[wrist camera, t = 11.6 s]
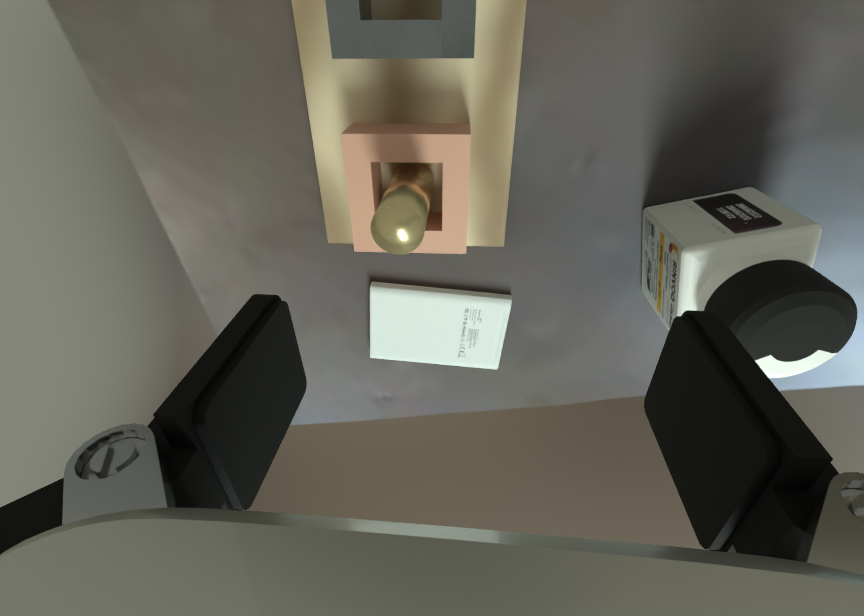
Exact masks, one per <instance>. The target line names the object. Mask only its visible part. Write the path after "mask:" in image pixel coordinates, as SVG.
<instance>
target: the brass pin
mask: <svg viewBox="0 0 864 616" xmlns="http://www.w3.org/2000/svg"><path fill="white" fill-rule="evenodd" d="M433 188H434V177H433V174H432V172H431V170H430V169H429V168H428V167H427V166H426V165H425V164H423V163H403V164H401V165H400V166H399V167H398V168H397V170H396V171H395V173H394V175H393V177H392V179H391V181H390V183H389V185H388V187H387V190H386V192H385V194H384V196H383V198H382V200H381V202H380V204H379V206H378V208H377V210H376V212H375V214H374V216H373V218H372V221H371V234H372V237H373V239H374V241H375V242H376V244H377V245H378V246H379V247H380V248H382V249H383V250H385V251H386V252H389V253H392V254H398V255H400V254H407V253H410V252H412V251H413V250H415V249H416V248H417V247H418V246H419V245H420V244H421V242H422V240H423V237H424V232H425V227H426V222H427V217H428V212H429V207H430V202H431V197H432V193H433Z"/></svg>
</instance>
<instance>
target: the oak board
mask: <svg viewBox="0 0 864 616" xmlns="http://www.w3.org/2000/svg"><path fill="white" fill-rule="evenodd" d="M291 1H292V7H293V14H294V20H295V27H296V33H297V40H298V47H299V53H300V60H301V66H302V73H303V80H304V86H305V93H306V99H307V106H308V112H309V119H310V126H311V132H312V139H313V145H314V152H315V159H316V165H317V172H318V178H319V185H320V191H321V198H322V205H323V211H324V218H325V224H326V231H327V238H328V243H354V242H353V234H352V225H351V217H350V208H349V200H348V191H347V182H346V174H345V165H344V157H343V148H342V140H341V133H342V132H343V131H345V130H346V129H347V128H348V127H349V126H350V125H351V124H353V123H456V124H470V128H471V144H470V169H469V193H468V218H467V242H466V246H503V247H504V238H505V227H506V216H507V206H508V195H509V184H510V173H511V163H512V152H513V141H514V130H515V120H516V109H517V98H518V88H519V77H520V66H521V55H522V45H523V34H524V23H525V12H526V2H527V0H476V22H475V46H474V58H432V59H332V54H331V45H330V37H329V28H328V20H327V11H326V3H325V0H291ZM371 13H372V20H442V0H371ZM380 163H381V177H382V191H383V196H384V194H385V192H386V190H387V187H388V185H389V183H390V181H391V179H392V177H393V175H394V173H395V171H396V170H397V168H398V167H399V166H400V165H401V164H403V163H402V162H380ZM423 164H425V165H426V166H427V167H428V168H429V169H430V170H431V172H432V174H433V177H434V188H433V193H432V197H431V202H430V207H429V212H437V213H442V190H443V163H423Z"/></svg>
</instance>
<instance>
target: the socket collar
mask: <svg viewBox="0 0 864 616" xmlns="http://www.w3.org/2000/svg"><path fill="white" fill-rule="evenodd" d="M341 140H342V148H343V157H344V165H345V174H346V182H347V191H348V200H349V208H350V217H351V225H352V234H353V242H354V251H356V252H386V251H385V250H383V249H382V248H380V247H379V246H378V245H377V244H376V242H375V241H374V239H373V237H372V234H371V221H372V218H373V216H374V214H375V212H376V210H377V208H378V206H379V204H380V202H381V200H382V198H383V191H382V177H381V163H380V162H402V163H443V190H442V213H437V212H428V217H427V222H426V227H425V232H424V237H423V240H422V242H421V244H420V245H419V246H418V247H417V248H416V249H415V250H413V251H412V252H410V253H447V254H466V242H467V218H468V193H469V169H470V144H471V128H470V124H456V123H353V124H351V125H350V126H349V127H348V128H347V129H346V130H345V131H343V132H342V133H341Z"/></svg>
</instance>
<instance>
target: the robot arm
mask: <svg viewBox="0 0 864 616" xmlns="http://www.w3.org/2000/svg"><path fill="white" fill-rule="evenodd" d="M306 385H307V383H306V376H305V372H304V368H303V364H302V360H301V356H300V352H299V348H298V344H297V340H296V336H295V332H294V328H293V323H292V319H291V315H290V311H289V307H288V304H287V303H286V302H285V301H281V298H280V297H279V296H278V295H263V294H255V295H253V296H252V297H251V298H250V299H249V300H248V301H247V302H246V304H245V305H244V306H243V307H242V308H241V310H240V311H239V312H238V313H237V314H236V316H235V317H234V318H233V319H232V320H231V322H230V323H229V324H228V325H227V326H226V328H225V329H224V330H223V331H222V332H221V334H220V335H219V336H218V337H217V339H216V340H215V341H214V342H213V343H212V345H211V346H210V347H209V348H208V349H207V351H206V352H205V353H204V354H203V355H202V357H201V358H200V359H199V360H198V361H197V363H196V364H195V365H194V366H193V367H192V369H191V370H190V371H189V372H188V373H187V375H186V376H185V377H184V378H183V380H182V381H181V382H180V383H179V384H178V385H177V387H176V388H175V389H174V390H173V392H172V393H171V394H170V395H169V396H168V398H167V399H166V400H165V401H164V402H163V403H162V405H161V406H160V407H159V408H158V409H157V411H156V412H155V413H154V414H153V415H154V417H155V418H154V419H153V420H152V421H151V423H150V424H149V425H148V426H145V425H142V424H135V423H134V424H125V425H119V426H116V427H113V428H110V429H107V430H105V431H103V432H101V433H99V434H97V435H95V436H94V437H92V438H91V439H89V440H88V441H86V442H85V443H83V445H81V446H80V447H79V448H78V449H77V450H76V451H75V452H74V453H73V455H72V456H71V458H70V459H69V460H68V462H67V464H66V467H65V471H64V478H62V479H60V480H58V481H56V482H54V483H52V484H50V485H48V486H45V487H43V488H41V489H39V490H37V491H35V492H32V493H30V494H28V495H26V496H24V497H22V498H20V499H17V500H15V501H14V502H11V503H9V504H7V505H5V506H3V507H0V616H864V474H863V473H858V472H844V473H841V474H839V473H838V472H837V470H836V469H835V468H834V467H833V465H832V464H831V463H830V462H831V461H832V460H833V458H832V457H831V456H830V455H829V453H828V452H827V451H826V450H825V448H824V447H823V446H822V444H821V443H820V442H819V441H818V439H817V438H816V437H815V436H814V434H813V433H812V432H811V431H810V430H809V428H808V427H807V426H806V425H805V423H804V422H803V421H802V419H801V418H800V417H799V416H798V414H797V413H796V412H795V411H794V409H793V408H792V407H791V406H790V405H789V403H788V402H787V401H786V399H785V398H784V397H783V396H782V394H781V393H780V392H779V391H778V389H777V388H776V387H775V386H774V384H773V383H772V382H771V380H770V379H769V378H768V377H767V375H766V374H765V373H764V372H763V370H762V369H761V368H760V367H759V365H758V364H757V363H756V362H755V360H754V359H753V358H752V357H751V355H750V354H749V353H748V352H747V350H746V349H745V348H744V347H743V345H742V344H741V343H740V342H739V340H738V339H737V338H736V337H735V335H734V334H733V333H732V332H731V330H730V329H729V328H728V327H727V325H726V324H725V323H724V321H723V320H722V319H721V318H720V316H719V315H718V314H717V313H716V312H713V311H692V310H687V311H685V312H684V313H683V314H682V315H681V316H677V317H675V318H674V320H673V322H672V325H671V328H670V330H669V333H668V336H667V339H666V341H665V344H664V347H663V350H662V352H661V355H660V358H659V361H658V363H657V366H656V369H655V372H654V374H653V377H652V380H651V383H650V386H649V388H648V391H647V394H646V397H645V402H644V408H645V413H646V416H647V418H648V420H649V423H650V425H651V428H652V430H653V432H654V435H655V437H656V439H657V442H658V444H659V447H660V449H661V452H662V454H663V457H664V459H665V461H666V464H667V466H668V469H669V471H670V474H671V476H672V478H673V481H674V483H675V485H676V488H677V490H678V493H679V495H680V498H681V500H682V502H683V505H684V507H685V509H686V512H687V514H688V517H689V519H690V522H691V524H692V527H693V529H694V531H695V534H696V536H697V539H698V541H699V543H700V545H701V546H702V547H703V548H704V549H709V550H701V549H691V548H683V547H673V546H662V545H650V544H640V543H628V542H618V541H606V540H596V539H584V538H573V537H562V536H551V535H539V534H528V533H517V532H505V531H493V530H481V529H470V528H458V527H447V526H435V525H422V524H410V523H399V522H387V521H374V520H361V519H349V518H337V517H324V516H311V515H298V514H287V513H273V512H258V511H243V510H247V509H249V507H250V506H251V505H252V503H253V501H254V499H255V497H256V495H257V493H258V491H259V488H260V486H261V484H262V482H263V480H264V478H265V476H266V474H267V472H268V470H269V467H270V465H271V463H272V461H273V459H274V457H275V455H276V453H277V450H278V449H279V446H280V444H281V442H282V440H283V438H284V436H285V434H286V432H287V430H288V427H289V425H290V423H291V421H292V419H293V417H294V415H295V413H296V411H297V409H298V406H299V404H300V402H301V400H302V398H303V396H304V394H305V391H306Z"/></svg>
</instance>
